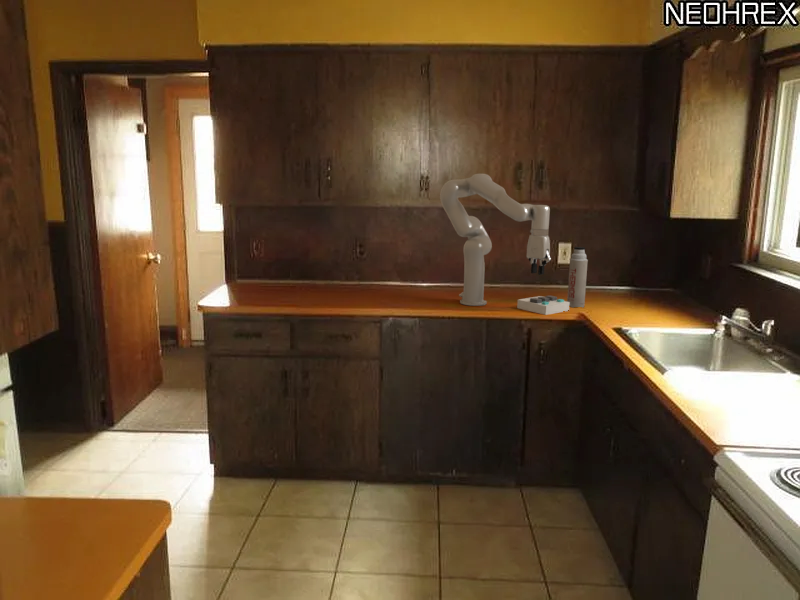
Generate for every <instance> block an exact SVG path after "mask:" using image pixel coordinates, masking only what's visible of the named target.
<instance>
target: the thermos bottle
mask: <svg viewBox="0 0 800 600" xmlns="http://www.w3.org/2000/svg"><path fill="white" fill-rule="evenodd" d="M573 249H574V250H573V253H572V254H571V258H570V259H569V270H568V287H567V300H566V301H567V302H570V304H569V306H570V307H569V308H574V307H582V308H584V307H585V304H586V302H585V301H586V289H587V288H586V287H587V276H588V275H587V274H588V273H587V271H588V262H589V259H587V254H586V252H585V250H586V247H584V246H574V248H573Z"/></svg>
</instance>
